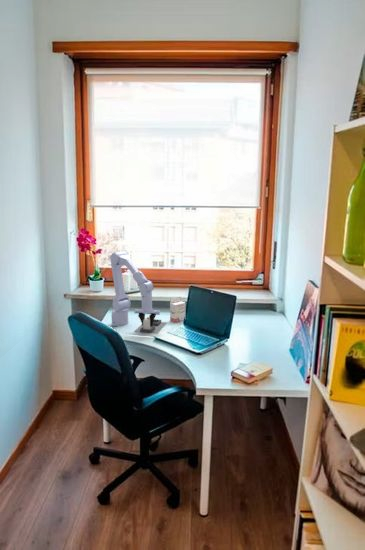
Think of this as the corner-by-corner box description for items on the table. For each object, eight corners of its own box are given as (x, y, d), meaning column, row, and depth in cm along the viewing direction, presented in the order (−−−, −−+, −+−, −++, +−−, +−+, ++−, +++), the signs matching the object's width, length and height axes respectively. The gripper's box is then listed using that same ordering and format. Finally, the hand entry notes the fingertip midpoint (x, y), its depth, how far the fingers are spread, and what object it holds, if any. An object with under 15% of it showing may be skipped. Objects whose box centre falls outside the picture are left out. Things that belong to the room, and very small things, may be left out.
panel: (133, 333, 229) (133, 329, 229) (145, 322, 248) (145, 318, 248) (157, 335, 226) (157, 330, 226) (167, 323, 245) (167, 319, 245)
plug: (143, 330, 230) (143, 318, 229) (145, 328, 234) (145, 316, 233) (150, 331, 229) (149, 319, 228) (152, 328, 233) (152, 317, 232)
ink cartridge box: (175, 323, 245) (174, 300, 242) (170, 321, 249) (169, 298, 246) (186, 320, 250) (185, 297, 247) (180, 318, 254) (180, 295, 251)
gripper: (132, 304, 226) (132, 327, 229) (157, 305, 223) (157, 329, 225) (136, 300, 233) (137, 323, 236) (160, 302, 229) (161, 325, 232)
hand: (147, 326), depth 231 cm, fingers closed on plug, 4 cm apart
